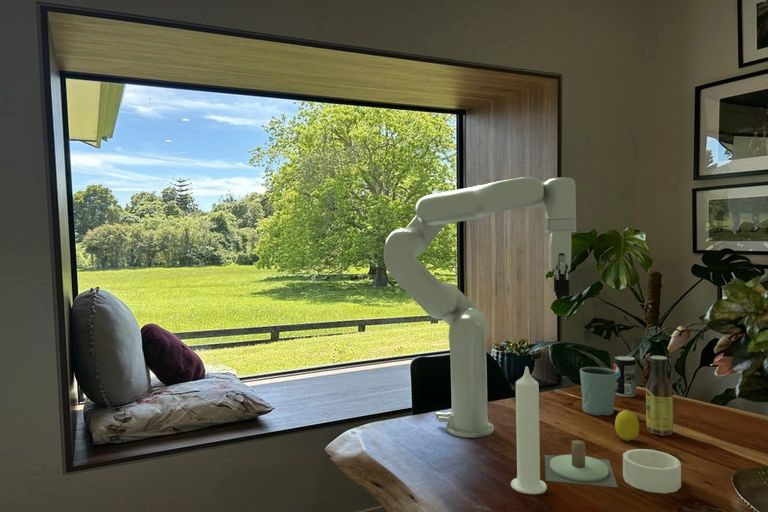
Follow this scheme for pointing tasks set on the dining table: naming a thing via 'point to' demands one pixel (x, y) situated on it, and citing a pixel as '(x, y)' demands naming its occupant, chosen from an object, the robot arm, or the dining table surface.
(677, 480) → the bowl
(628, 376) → the beverage can
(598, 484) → the mat
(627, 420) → the lemon
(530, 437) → the candle
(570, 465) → the lid
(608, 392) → the blue-green cup
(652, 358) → the sauce bottle
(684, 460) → the dining table surface
